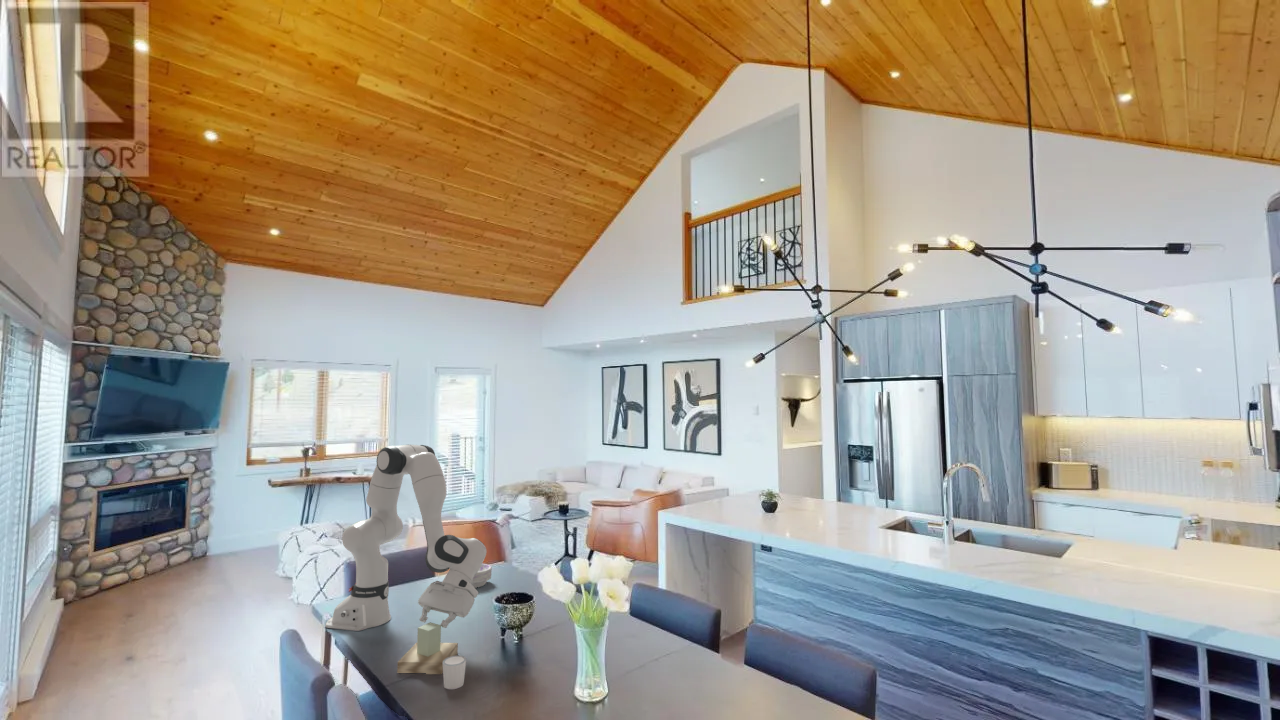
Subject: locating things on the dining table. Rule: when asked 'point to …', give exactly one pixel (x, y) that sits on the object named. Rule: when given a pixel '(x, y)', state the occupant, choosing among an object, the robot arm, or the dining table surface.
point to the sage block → (428, 639)
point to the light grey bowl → (482, 576)
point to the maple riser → (426, 660)
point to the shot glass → (454, 671)
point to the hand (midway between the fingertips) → (432, 624)
